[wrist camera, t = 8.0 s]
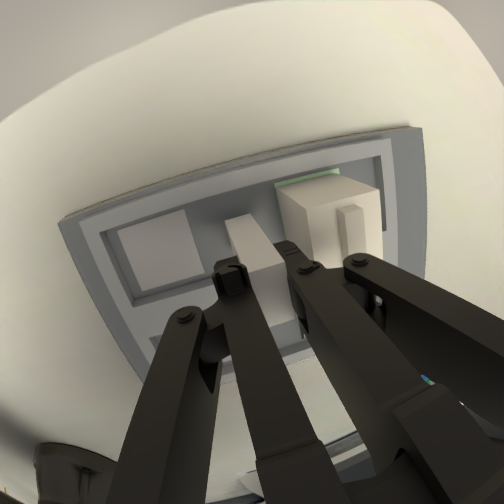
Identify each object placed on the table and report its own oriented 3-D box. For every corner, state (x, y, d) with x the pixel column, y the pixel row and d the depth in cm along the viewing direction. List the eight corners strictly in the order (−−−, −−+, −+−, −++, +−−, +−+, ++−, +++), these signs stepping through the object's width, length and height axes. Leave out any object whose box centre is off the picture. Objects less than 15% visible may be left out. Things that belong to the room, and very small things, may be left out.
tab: (287, 246, 19) (323, 291, 14) (275, 187, 18) (312, 214, 13) (342, 230, 20) (390, 266, 15) (334, 172, 18) (388, 193, 13)
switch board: (151, 382, 24) (150, 402, 22) (65, 216, 17) (51, 228, 15) (413, 295, 26) (427, 308, 24) (409, 126, 20) (430, 128, 17)
